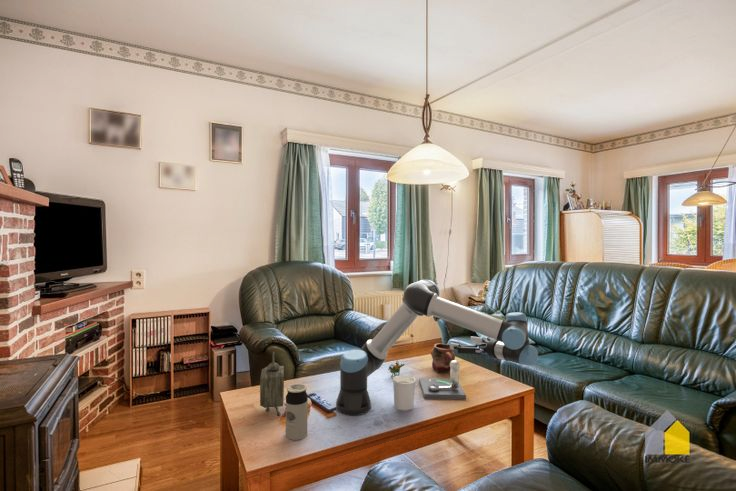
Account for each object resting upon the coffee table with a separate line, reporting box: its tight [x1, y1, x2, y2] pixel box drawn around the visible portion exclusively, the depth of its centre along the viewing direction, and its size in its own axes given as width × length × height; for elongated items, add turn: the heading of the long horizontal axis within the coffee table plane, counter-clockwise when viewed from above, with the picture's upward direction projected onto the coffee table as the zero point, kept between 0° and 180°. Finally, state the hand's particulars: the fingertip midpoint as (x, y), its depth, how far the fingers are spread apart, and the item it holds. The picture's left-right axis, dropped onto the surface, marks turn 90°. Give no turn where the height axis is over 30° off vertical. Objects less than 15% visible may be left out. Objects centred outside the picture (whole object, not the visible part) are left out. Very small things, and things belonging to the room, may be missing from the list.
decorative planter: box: [430, 342, 456, 374], centre depth 206 cm, size 20×12×14 cm, turn 20°
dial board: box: [418, 377, 467, 400], centre depth 181 cm, size 19×19×2 cm
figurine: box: [387, 359, 406, 377], centre depth 198 cm, size 3×12×8 cm, turn 128°
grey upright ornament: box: [259, 351, 285, 417], centre depth 157 cm, size 14×9×25 cm, turn 12°
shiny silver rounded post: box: [428, 359, 461, 391], centre depth 176 cm, size 15×5×14 cm, turn 94°
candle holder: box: [392, 374, 416, 411], centre depth 163 cm, size 10×10×12 cm
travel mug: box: [285, 383, 309, 441], centre depth 139 cm, size 8×8×18 cm
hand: (460, 342), depth 171 cm, fingers open, 13 cm apart
